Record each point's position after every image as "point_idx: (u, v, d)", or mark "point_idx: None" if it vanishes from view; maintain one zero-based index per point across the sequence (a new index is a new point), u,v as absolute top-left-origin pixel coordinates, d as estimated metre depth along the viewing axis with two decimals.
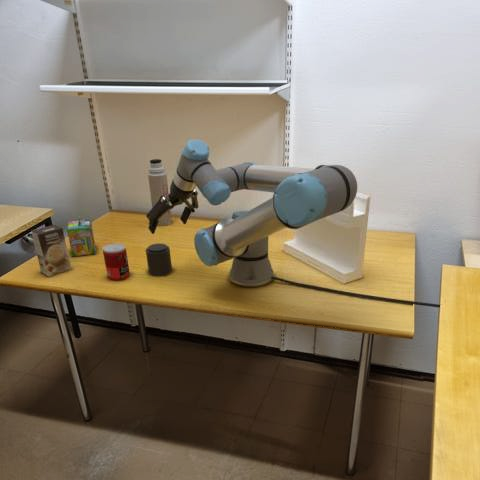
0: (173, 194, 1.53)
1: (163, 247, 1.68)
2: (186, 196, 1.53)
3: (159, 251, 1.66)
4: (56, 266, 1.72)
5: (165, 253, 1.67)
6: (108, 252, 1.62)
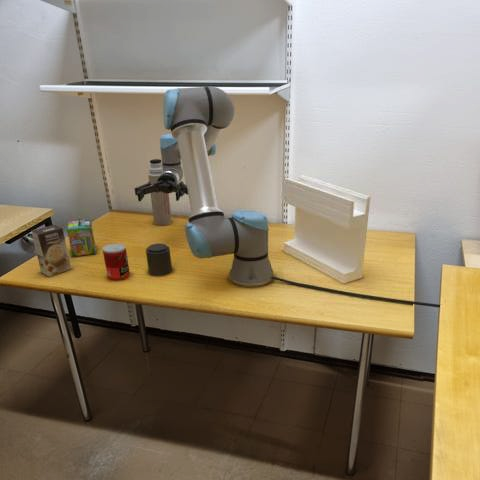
0: (157, 181, 1.85)
1: (163, 247, 1.68)
2: (164, 173, 1.84)
3: (159, 251, 1.66)
4: (56, 266, 1.72)
5: (165, 253, 1.67)
6: (108, 252, 1.62)
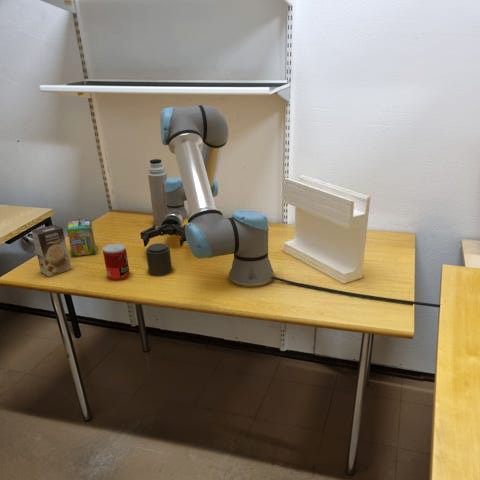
0: (162, 224, 1.93)
1: (163, 247, 1.68)
2: (168, 216, 1.92)
3: (159, 251, 1.66)
4: (56, 266, 1.72)
5: (165, 253, 1.67)
6: (108, 252, 1.62)
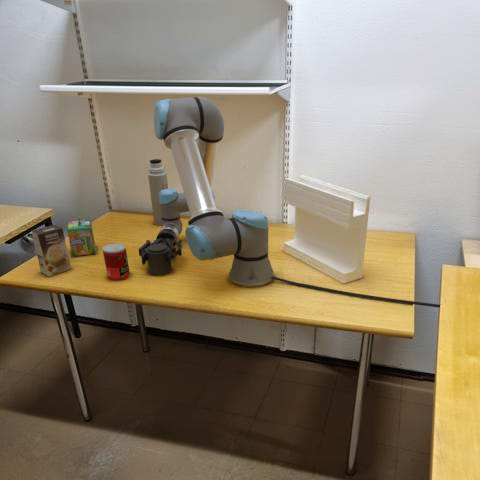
0: (156, 238, 1.83)
1: (163, 247, 1.68)
2: (163, 230, 1.83)
3: (159, 251, 1.66)
4: (56, 266, 1.72)
5: (165, 253, 1.67)
6: (108, 252, 1.62)
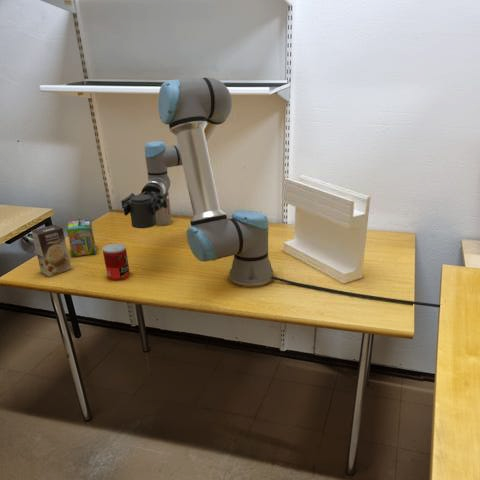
0: None
1: (147, 197, 1.59)
2: (148, 183, 1.73)
3: (142, 201, 1.57)
4: (56, 266, 1.72)
5: (149, 203, 1.57)
6: (108, 252, 1.62)
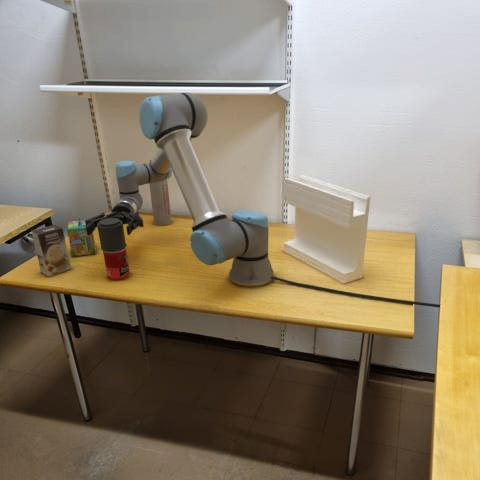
0: None
1: (115, 221, 1.60)
2: (119, 203, 1.74)
3: (110, 225, 1.58)
4: (56, 266, 1.72)
5: (117, 227, 1.59)
6: (108, 252, 1.62)
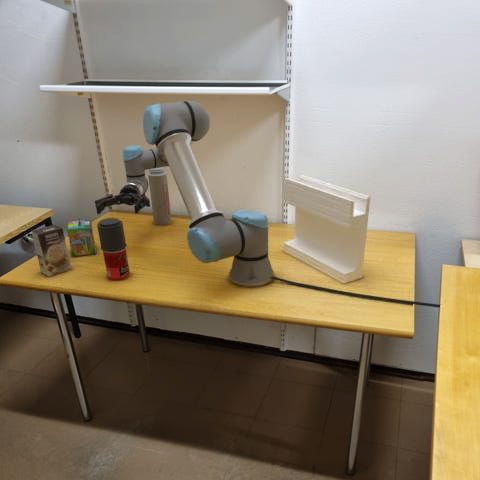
0: None
1: (115, 221, 1.60)
2: (126, 185, 1.83)
3: (110, 225, 1.58)
4: (56, 266, 1.72)
5: (117, 227, 1.59)
6: (108, 252, 1.62)
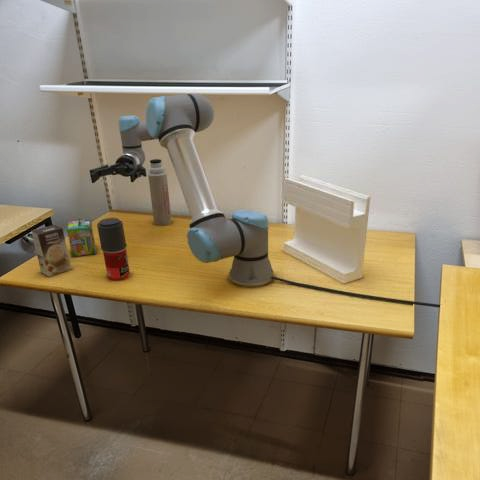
0: None
1: (115, 221, 1.60)
2: (122, 155, 1.78)
3: (110, 225, 1.58)
4: (56, 266, 1.72)
5: (117, 227, 1.59)
6: (108, 252, 1.62)
